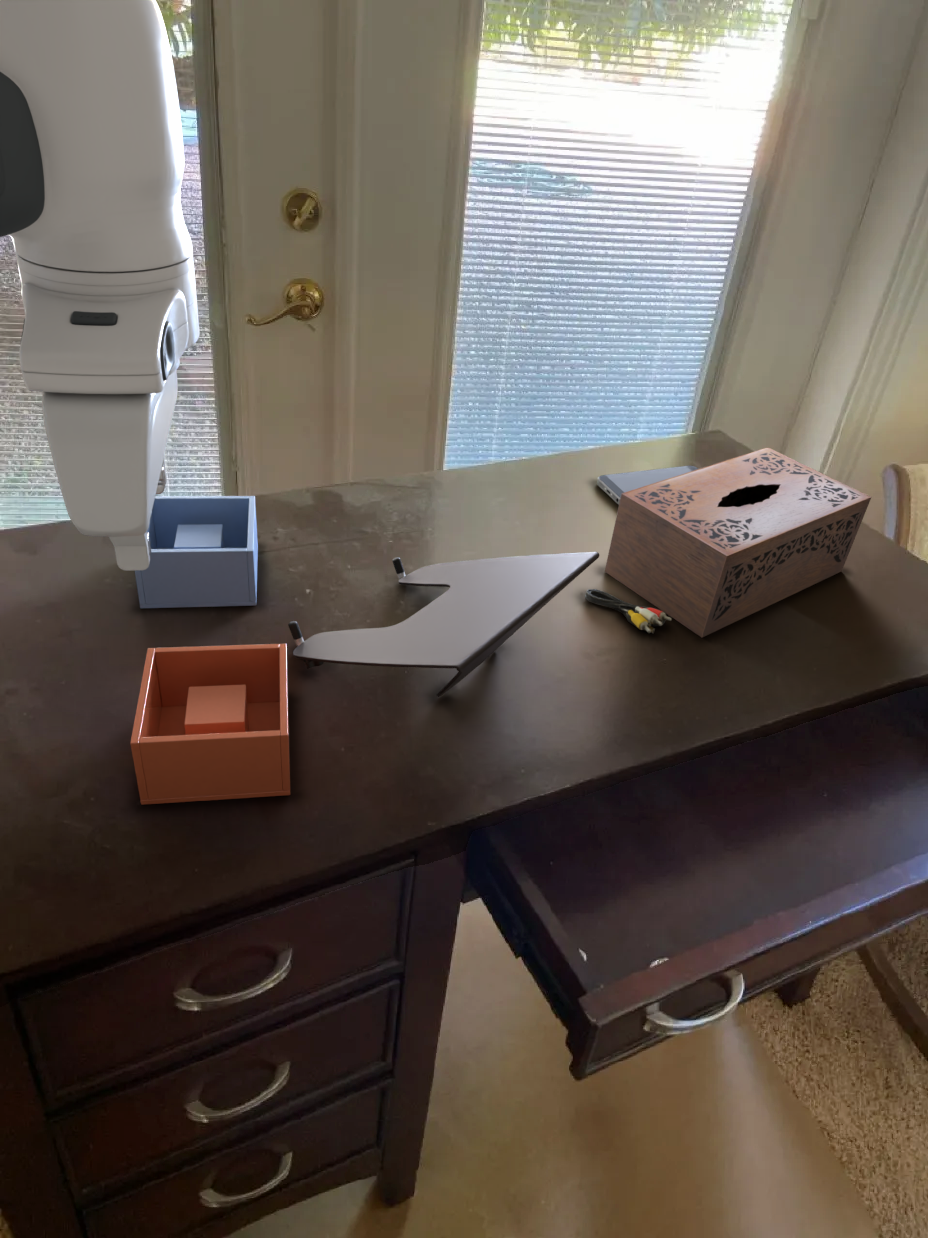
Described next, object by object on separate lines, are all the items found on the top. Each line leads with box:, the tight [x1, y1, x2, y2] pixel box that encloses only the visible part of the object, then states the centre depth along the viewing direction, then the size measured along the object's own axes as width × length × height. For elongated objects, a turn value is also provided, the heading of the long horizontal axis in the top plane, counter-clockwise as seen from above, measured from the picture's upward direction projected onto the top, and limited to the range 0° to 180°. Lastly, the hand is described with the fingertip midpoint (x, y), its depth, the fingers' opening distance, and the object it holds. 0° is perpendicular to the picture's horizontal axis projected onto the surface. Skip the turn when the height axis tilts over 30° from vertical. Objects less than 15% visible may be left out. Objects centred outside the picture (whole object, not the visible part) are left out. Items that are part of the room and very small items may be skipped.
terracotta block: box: [184, 685, 249, 735], centre depth 72 cm, size 4×4×4 cm
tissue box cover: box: [604, 446, 872, 638], centre depth 101 cm, size 26×14×10 cm, turn 127°
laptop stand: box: [287, 551, 600, 698], centre depth 84 cm, size 23×23×9 cm
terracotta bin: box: [129, 643, 291, 806], centre depth 71 cm, size 11×11×6 cm
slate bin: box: [134, 495, 259, 609], centre depth 91 cm, size 11×11×6 cm
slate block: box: [174, 524, 225, 549], centre depth 92 cm, size 4×4×4 cm
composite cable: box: [584, 588, 673, 634], centre depth 94 cm, size 10×5×2 cm, turn 39°
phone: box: [596, 465, 699, 506], centre depth 119 cm, size 8×1×16 cm
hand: (144, 524), depth 57 cm, fingers open, 8 cm apart
